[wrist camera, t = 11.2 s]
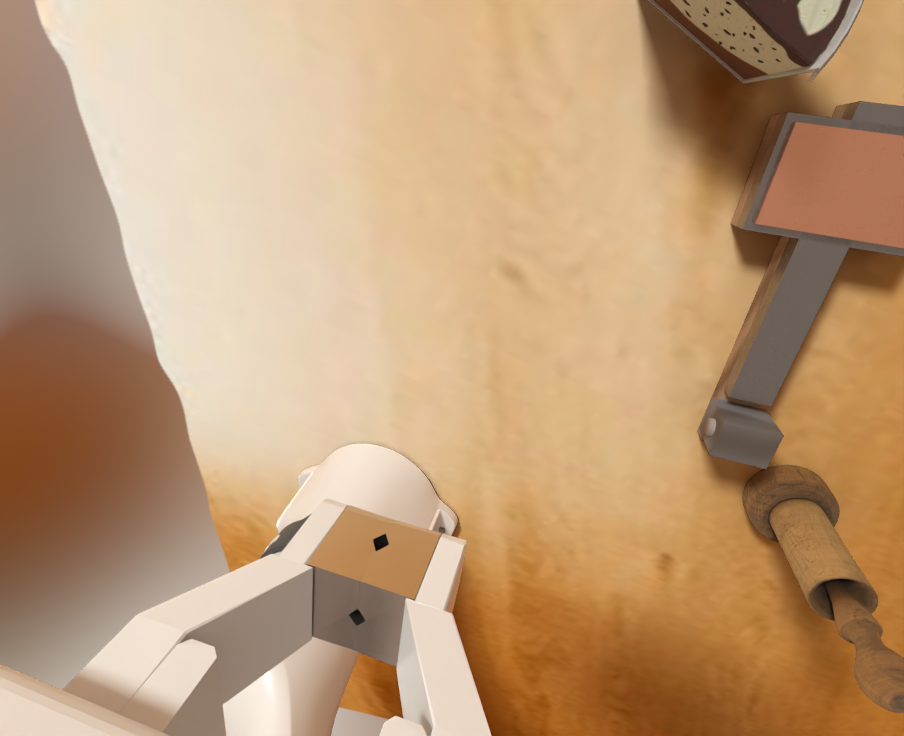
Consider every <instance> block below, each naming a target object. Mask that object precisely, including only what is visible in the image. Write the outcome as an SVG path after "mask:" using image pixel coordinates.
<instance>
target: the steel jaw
mask: <svg viewBox="0 0 904 736" xmlns="http://www.w3.org/2000/svg"><path fill="white" fill-rule="evenodd" d="M736 227H739V228H741V229H744V230H749V231H755V232H761V233H767V234H773V235H779V236H785V237H790V238H789V240H788V243H787V245H786V247H785V250H784V252H783V254H782V256H781V259H780V261H779V263H778V266H777V268H776V270H775V273H774V275H773V277H772V279H771V282H770V284H769V286H768V289H767V291H766V293H765V296H764V298H763V300H762V302H761V305H760V307H759V309H758V312H757V314H756V316H755V319H754V321H753V323H752V325H751V328H750V330H749V332H748V335H747V337H746V339H745V342H744V344H743V346H742V348H741V351H740V353H739V355H738V358H737V360H736V362H735V365H734V367H733V369H732V371H731V374H730V376H729V378H728V381H727V383H726V385H725V388H724V390H725V391H726V393H727V395H728V396H729V397H731V398H735V399H740V400H744V401H748V402H753V403H757V404H762V405H766V406H770V407H771V406H772V404H773V402H774V400H775V398H776V395H777V393H778V391H779V389H780V387H781V385H782V383H783V381H784V379H785V377H786V375H787V373H788V371H789V369H790V367H791V365H792V363H793V361H794V359H795V357H796V355H797V353H798V351H799V349H800V347H801V345H802V343H803V341H804V339H805V336H806V334H807V332H808V330H809V328H810V326H811V324H812V322H813V320H814V318H815V316H816V314H817V312H818V310H819V308H820V306H821V304H822V302H823V300H824V298H825V296H826V294H827V292H828V290H829V288H830V286H831V284H832V282H833V280H834V278H835V275H836V273H837V271H838V269H839V267H840V265H841V263H842V261H843V259H844V257H845V255H846V253H847V251H848V249H849V247H850V248H856V249H862V250H868V251H874V252H880V253H886V254H892V255H898V256H904V106H896V105H888V104H880V103H871V102H863V101H859V102H854V103H849V104H848V105H847V107H846V109H845V111H844V114H843V116H842V118H841V119H839V118H831V117H823V116H815V115H807V114H799V113H791V112H787V113H782V114H779V117H778V119H777V122H776V125H775V127H774V130H773V132H772V135H771V138H770V140H769V143H768V145H767V148H766V151H765V153H764V156H763V158H762V161H761V164H760V166H759V169H758V172H757V174H756V177H755V179H754V182H753V185H752V187H751V190H750V192H749V195H748V198H747V200H746V203H745V205H744V208H743V211H742V213H741V216H740V218H739V221H738V224H737V226H736Z"/></svg>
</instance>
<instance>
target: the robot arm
mask: <svg viewBox="0 0 904 736" xmlns="http://www.w3.org/2000/svg"><path fill="white" fill-rule="evenodd" d="M298 485H299V489H300V490H299V491H298V493H297V494H296V495H295V497H294V498H293V500H292V501H291V502H290V504H289V505H288V507H287V508H286V509H285V511H284V512H283V514H282V515H281V517H280V518H279V520H278V522H277V528H278V536H277V537H276V538H274V539H273V540H272V541H271V542H270V544H269V545H268V546H267V548H266V549H265V551H264V554H263V555H262V556H261V558H260V559H259V560H257V561H254V562H252V563H250V564H248V565H245V566H243V567H241V568H239V569H237V570H234V571H232V572H230V573H228V574H226V575H224V576H221V577H219V578H217V579H215V580H212V581H210V582H208V583H206V584H203V585H201V586H199V587H197V588H195V589H193V590H190V591H188V592H186V593H184V594H181V595H179V596H177V597H175V598H172V599H170V600H168V601H166V602H164V603H162V604H159V605H157V606H155V607H153V608H150V609H148V610H146V611H144V612H142V613H139V614H137V615H136V616H135V617H134V618H133V619H132V620H131V621H130V622H129V623H128V624H127V625H126V626H125V627H124V628H123V629H122V630H121V631H120V632H119V633H118V634H117V635H116V636H115V637H114V638H113V639H112V640H111V641H110V642H109V643H108V644H107V645H106V646H105V647H104V648H103V649H102V650H101V651H100V652H99V653H98V654H97V655H96V656H95V657H94V658H93V659H92V660H91V661H90V662H89V663H88V664H87V665H86V666H85V667H84V668H83V669H82V670H81V671H80V672H79V673H78V674H77V675H76V676H75V677H74V678H73V679H72V680H71V681H70V682H69V683H68V684H67V685H66V686H65V688H63V689H62V690H61V689H59V688H56V687H54V686H51V685H49V684H47V683H44V682H42V681H40V680H37V679H35V678H32V677H30V676H28V675H25V674H23V673H21V672H18V671H16V670H14V669H11V668H9V667H6V666H4V665H1V664H0V736H331V733H332V728H333V724H334V720H335V717H336V714H337V711H338V708H339V705H340V702H341V699H342V697H343V694H344V691H345V688H346V686H347V683H348V680H349V678H350V675H351V673H352V670H353V668H354V665H355V663H356V660H357V658H358V656H359V653H362V654H365V655H367V656H370V657H373V658H375V659H378V660H380V661H383V662H385V663H388V664H390V665H393V666H395V667H397V669H396V670H397V677H398V684H399V691H400V698H401V705H402V712H403V718H400V717H397V716H394V717H392V718H391V719H389V720H387V721H385V722H384V724H383V727H382V730H381V732H380V735H379V736H491V733H490V729H489V726H488V723H487V720H486V717H485V714H484V710H483V707H482V704H481V701H480V698H479V695H478V692H477V688H476V685H475V682H474V679H473V676H472V673H471V669H470V666H469V663H468V660H467V657H466V654H465V650H464V647H463V644H462V641H461V638H460V635H459V631H458V628H457V625H456V622H455V619H454V616H453V614H452V612H453V608H454V604H455V600H456V595H457V591H458V587H459V583H460V578H461V573H462V568H463V563H464V559H465V554H466V549H467V541H466V540H463V539H460V538H456V537H453V536H452V534H453V532H454V530H455V528H456V525H457V523H458V518H457V516H456V514H455V513H454V512H453V511H452V510H451V509H450V508H449V507H448V506H447V505H446V504H445V503H443V502H442V501H441V500H440V499H439V497H438V496H437V494H436V492H435V491H434V489H433V487H432V485H431V483H430V482H429V480H428V479H427V477H426V476H425V475H424V473H423V472H422V471H421V470H420V469H419V468H418V467H417V466H416V465H415V464H413V463H412V462H411V461H410V460H408V459H407V458H405V457H404V456H402V455H400V454H399V453H397V452H395V451H393V450H390V449H388V448H385V447H381V446H377V445H372V444H353V445H348V446H345V447H342V448H340V449H338V450H336V451H334V452H333V453H332V454H330V455H329V456H328V457H327V458H326V459H325V460H324V461H323V462H322V463H321V464H319V465H316V466H313V467H309V468H307V469H305V470H303V471H302V473H301V474H300V476H299V477H298ZM441 527H443V528H444V529H443V528H441Z"/></svg>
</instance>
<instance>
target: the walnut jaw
mask: <svg viewBox="0 0 904 736" xmlns="http://www.w3.org/2000/svg"><path fill="white" fill-rule="evenodd" d="M847 105H848V104H844V105H839V106H836V109H835V111H834V113H833V116H832V118H839V119H841V118H842V116H843V114H844V111H845V109H846V107H847ZM778 117H779V114H778V115H773V116H771V119H770V121H769V124H768V126H767V129H766V132H765V134H764V137H763V140H762V142H761V145H760V148H759V150H758V153H757V155H756V158H755V161H754V163H753V166H752V169H751V171H750V174H749V177H748V179H747V182H746V185H745V187H744V190H743V192H742V195H741V198H740V200H739V203H738V206H737V208H736V211H735V214H734V216H733V219H732V221H731V224H732V225H734V226H737V224H738V221H739V218H740V216H741V213H742V211H743V208H744V205H745V203H746V200H747V198H748V195H749V192H750V190H751V187H752V185H753V182H754V179H755V177H756V174H757V172H758V169H759V166H760V164H761V161H762V158H763V156H764V153H765V151H766V148H767V145H768V143H769V140H770V138H771V135H772V132H773V130H774V127H775V125H776V122H777V119H778ZM789 238H790V237H785V236H781V237H780V239H779V242H778V244H777V246H776V249H775V251H774V253H773V256H772V258H771V260H770V263H769V265H768V267H767V270H766V272H765V274H764V277H763V279H762V281H761V284H760V286H759V288H758V291H757V293H756V295H755V298H754V300H753V303H752V305H751V307H750V310H749V312H748V314H747V317H746V319H745V321H744V324H743V326H742V328H741V331H740V333H739V335H738V338H737V340H736V342H735V345H734V347H733V349H732V352H731V354H730V356H729V359H728V361H727V363H726V366H725V368H724V370H723V373H722V375H721V377H720V380H719V382H718V384H717V387H716V389H715V391H714V394H713V396H712V398H711V401H710V403H709V405H708V408H707V410H706V412H705V415H704V417H703V419H702V422H701V424H700V426H699V429H698V434H699V436H700V439H701V440H702V441H704V442H705V445H706V447H707V449H708V452H709V454H710V455H711V456H715V457H719V458H723V459H727V460H731V461H735V462H739V463H743V464H747V465H751V466H755V467H759V468H763V469H767V467H768V465H769V463H770V461H771V459H772V457H773V456H774V454H775V452H776V450H777V448H778V446H779V444H780V442H781V440H782V438H783V437H784V435H783V434H782V432H781V431H780V430H779V428H778V427H777V425H776V424H775V422H774V421H773V420H772V418H771V417H770V415H769V414H768V412H767V411H766V410H765V409H760V408H759V407H760V405H761V404H757V403H753V402H748V401H744V400H740V399H735V398H731V397H729V396H728V395H727V393H726V391H725V390H724V388H725V385H726V383H727V381H728V378H729V376H730V374H731V371H732V369H733V367H734V365H735V362H736V360H737V358H738V355H739V353H740V351H741V348H742V346H743V344H744V342H745V339H746V337H747V335H748V332H749V330H750V328H751V325H752V323H753V321H754V319H755V316H756V314H757V312H758V309H759V307H760V305H761V302H762V300H763V298H764V296H765V293H766V291H767V289H768V286H769V284H770V282H771V279H772V277H773V275H774V273H775V270H776V268H777V266H778V263H779V261H780V259H781V256H782V254H783V252H784V250H785V247H786V245H787V243H788V240H789Z"/></svg>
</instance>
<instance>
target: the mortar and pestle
mask: <svg viewBox="0 0 904 736" xmlns="http://www.w3.org/2000/svg"><path fill="white" fill-rule="evenodd" d="M743 504H744V507H745V510H746V512H747V514H748V516H749V519H750V521H751V523H752V525H753V526H754V527H755V529H756V530H757V531H758V532H759V533H761V534H762V535H763V536H765V537H767V538H769V539H771V540H773V541H776V542H779V543H780V545H781V547H782V549H783V551H784V553H785V555H786V558H787V560H788V562H789V564H790V566H791V568H792V570H793V572H794V575H795V577H796V579H797V581H798V583H799V585H800V587H801V589H802V591H803V594H804V596H805V598H806V600H807V602H808V604H809V606H810V607H811V609H812V610H813V611H814V612H816V613H817V614H819V615H820V616H822V617H824V618H827V619H830V620H835V623H836V627H837V630H838V632H839V635H840V636H841V637H842V638H843V639H844V640H846V641H847V642H850V643H853V644H854V645H855V647H856V658H855V665H854V673H855V678H856V680H857V683H858V685H859V686H860V688H861V689H862V691H863V692H864V693H865V694H866V696H867V697H868V698H869V699H871V700H872V701H873V702H874V703H876V704H877V705H879V706H880V707H882V708H884V709H886V710H888V711H891V712H896V713H904V658H903V657H902V656H900V655H899V654H897V653H895V652H894V651H892V650H891V649H889V648H888V647H886V646H885V645H884V644H883V643H882V641H881V638H880V637H881V636H882V633H883V629H882V627H881V625H880V624H879V623H878V621H877V620H876V619H875V618H874V617H873V616H872V615H871V614H872V613H873V612H874V611H875V610H876V608H877V606H878V596H877V594H876V592H875V590H874V589H873V587H872V586H871V584H870V583H869V581H868V580H867V578H866V577H865V575H864V574H863V572H862V571H861V569H860V568H859V566H858V565H857V563H856V562H855V560H854V559H853V557H852V555H851V554H850V552H849V551H848V549H847V548H846V546H845V545H844V543H843V541H842V540H841V538H840V537H839V535H838V533H837V532H836V530H835V529H834V526H835V524H836V523H837V521H838V518H839V505H838V502H837V500H836V498H835V497H834V495H833V494H832V492H831V491H830V489H829V488H828V486H827V485H826V483H825V482H824V481H823V480H822V479H821V478H820V477H819V476H818V475H817V474H815V473H814V472H812V471H810V470H808V469H806V468H803V467H798V466H791V465H782V466H775V467H770V468H767V469H765V470H762V471H760V472H759V473H757V474H756V475H754V476H753V477H752V478H751V479H750V480H749V482H748V483H747V485H746V486H745V489H744V492H743Z"/></svg>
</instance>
